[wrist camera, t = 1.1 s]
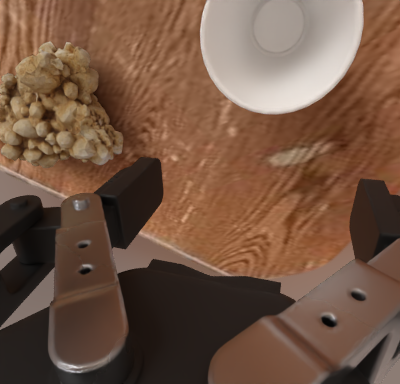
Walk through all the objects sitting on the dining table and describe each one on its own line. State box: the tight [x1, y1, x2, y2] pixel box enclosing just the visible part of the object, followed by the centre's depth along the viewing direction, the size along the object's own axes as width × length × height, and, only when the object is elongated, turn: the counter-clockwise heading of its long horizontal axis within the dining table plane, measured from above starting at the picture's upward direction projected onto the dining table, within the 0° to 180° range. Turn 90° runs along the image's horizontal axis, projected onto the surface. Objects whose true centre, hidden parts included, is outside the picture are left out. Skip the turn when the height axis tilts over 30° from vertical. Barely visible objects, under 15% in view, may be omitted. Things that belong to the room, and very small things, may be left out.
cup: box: [200, 0, 363, 114], centre depth 25 cm, size 10×10×11 cm
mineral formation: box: [0, 42, 123, 168], centre depth 35 cm, size 8×13×15 cm
